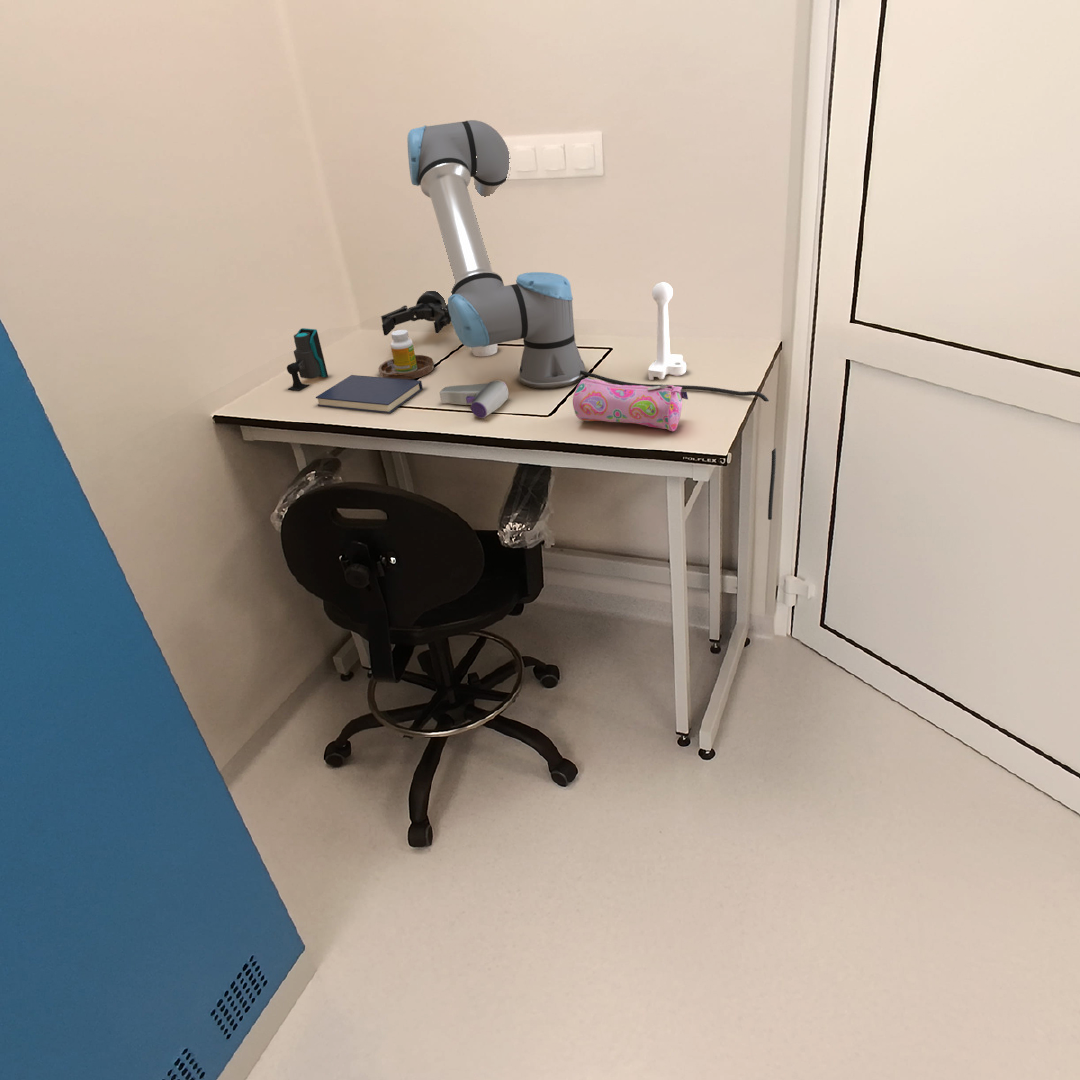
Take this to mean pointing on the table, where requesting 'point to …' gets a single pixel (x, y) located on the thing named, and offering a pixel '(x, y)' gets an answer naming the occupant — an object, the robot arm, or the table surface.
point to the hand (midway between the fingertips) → (410, 329)
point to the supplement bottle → (403, 352)
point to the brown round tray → (423, 368)
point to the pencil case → (629, 403)
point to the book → (370, 393)
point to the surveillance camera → (307, 358)
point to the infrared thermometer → (477, 396)
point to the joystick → (664, 337)
